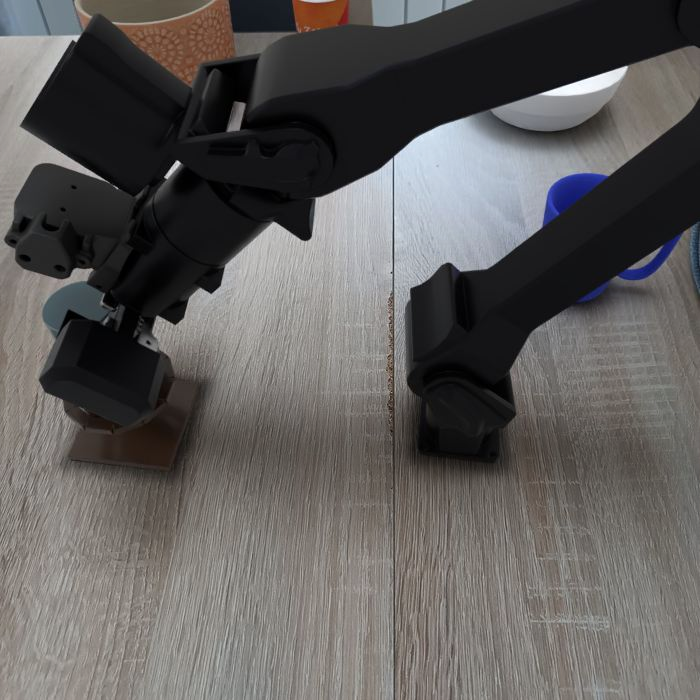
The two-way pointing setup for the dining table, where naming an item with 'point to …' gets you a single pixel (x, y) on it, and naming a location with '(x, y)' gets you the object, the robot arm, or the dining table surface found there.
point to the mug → (574, 189)
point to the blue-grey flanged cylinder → (74, 306)
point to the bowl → (563, 104)
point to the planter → (170, 29)
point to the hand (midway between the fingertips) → (79, 341)
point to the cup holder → (137, 429)
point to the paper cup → (320, 14)
